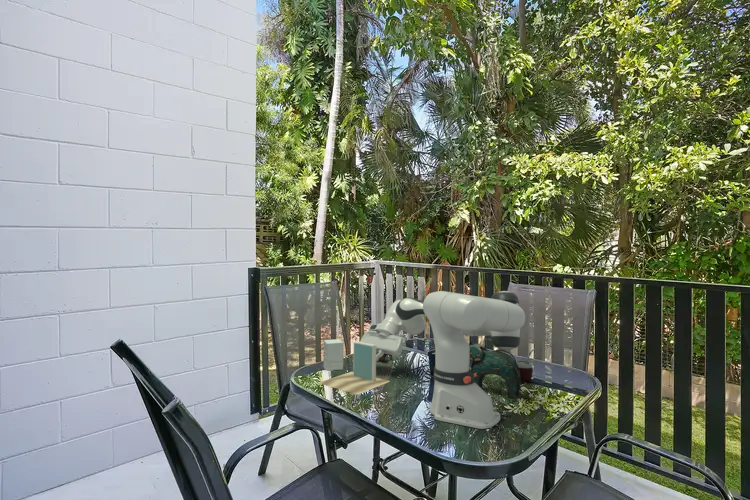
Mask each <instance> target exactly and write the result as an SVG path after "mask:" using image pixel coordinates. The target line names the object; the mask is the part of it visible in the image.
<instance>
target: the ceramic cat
mask: <svg viewBox="0 0 750 500" xmlns="http://www.w3.org/2000/svg"><path fill="white" fill-rule="evenodd" d="M486 340H487V341H489V342H490V343H491V344H492V343H493V342H492V341H491V340H490V339H489V338H484V339H483V341H482V344H481V343H473V342H472V341H470V342H468V344H469V347H470V361H471V366H470V370H471V372H472V373H473V374H474V373H477V374H476V375H477V376H476V375H475V376H476V377H474V382H475V383H476V384H477V385H478V386H479V387H480V388H481V389H482V388H483V387H484V386H483V385H484V384H483V380H484V377H486V375H495V376H498V377H500V378H502V379H504V381H505V384H506V385H507V389H508V395H509V397H511V398H514V399H517V398H519V396H520V393H521V384H522V382H521V377H520V371H519V368H518V365H517V363H516V362H517V360H516V358H515V356H514V355H513V353H511V352H510V351H508V350H501V349H494V350H489V349H487V348H486V346H485V341H486Z"/></svg>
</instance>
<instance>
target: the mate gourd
mask: <svg viewBox="0 0 750 500" xmlns="http://www.w3.org/2000/svg"><path fill="white" fill-rule="evenodd" d="M536 350H537V347H535V348H533V349H532V350H530V351H529V353H528V355H527V359H526V360H516V363H517V365H518V368H519V371H520V377H521V384H522V385H526V383H528V384H531V383H532V378H533V369H534V368H533V366H532V364H531V363H530V361H529V359H530V357H531V355H532V352H534V351H536Z"/></svg>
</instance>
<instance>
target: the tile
mask: <svg viewBox="0 0 750 500" xmlns="http://www.w3.org/2000/svg"><path fill="white" fill-rule="evenodd" d="M352 361H353V364H352V365H353V367H352V370H353V371H352V372H353V377H357V378H361V379H364V380H368V381H372V382H373V381H376V378H377V361H376V345H373V344H368V343H363V342H360V341H353V360H352Z"/></svg>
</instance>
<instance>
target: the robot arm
mask: <svg viewBox="0 0 750 500" xmlns="http://www.w3.org/2000/svg"><path fill="white" fill-rule="evenodd" d="M519 304H520V301H519V296H517V294H515V292H511V291H507V290H502V291H497V292H495V293H493V294H492V295H491V297H490V298H489V297H484V296H477V295H476V296H475V295H470V294H463V293H459V292H458V293H457V292H452V291H444V290H440V291H434V292H430V293H429V294H427V295H426V297H425V298H424V299H423V300H422V299H418V298H415V297H404V298H402V299H396V300H395V301H394V302H393V303H392V304H391V305H390V307H389V308H388V309H387V312H386V313H385V318H383V320H382V321H381V322H380V323H376V324H370V325H369V326H368V330H367V331H365V332H364V334H363V335H362V336H361V339H360V341H359V342H363V343H368V344H373V345H376V353H377V352H379V353H378V354H377V355H376V362H377V361H378V359H379V358H380V357H381V356H383V354H384V353H386V354H391V355H392V356H397V357H398V356H400V355H402V352H403V350H404V347H405V343H406V341H407V338H408V337H407V336H406V335H404V334H400V332H401V331H403V333H405V334H409V335H411V336H418V335H420V334H422V333H423V332H424V331H425V329H426V327H427V323H426V320H425V317H427V319H428V321H429V324H430V326H431V330H432V335H433V338H434V346H435V347H434V349H435V354H434V356H435V359H434V360H435V362H434V363H435V366H434V367H433V382H434V383H433V384H434V386H433V394H432V400H431V404H430V406H429V412H430V413H431V414H432V415H433V416H434V417H433V418H434V419H435V420H437V421H440V422H444V423H445V422H446V423H450V424H454V425H459V426H465V427H470V428H475V429H480V430H484V429H490V428H492V427H494V426H495V425H497V424H498V423H499V422H500V420H501V413H500V412H498V411H495V410H494V405H493V401H492V398H491V396H490V395H489V394H488V393H487V392H486V391H485V390H483V389H482V388H480V387H479V386H478V385H477V384H476V383H475V382H474V377H476V376H477V375H476V374H477V373H474V374H473V373H472V372H471V368H470V363H471V362H470V347H469V342H468V340H467V339H466V338H465V336H468V337H486V336H487V337H488V336H490V337H488V339H490V340H491V341H492V342H493V343H492V342H491V341H490V342H491V344H492V345H493V346H494V347H495V348H497V349H498V350H505V351H510V350H513V349H514V350H515V349H517V348H518V347H519V345H520V341H521V335H520V334H521V328H522V327H523V326H524V325H525V322H526V313H525V311H524V309H523V308H522V307H521V306H520V305H519ZM379 360H380V359H379ZM475 375H476V376H475Z"/></svg>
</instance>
